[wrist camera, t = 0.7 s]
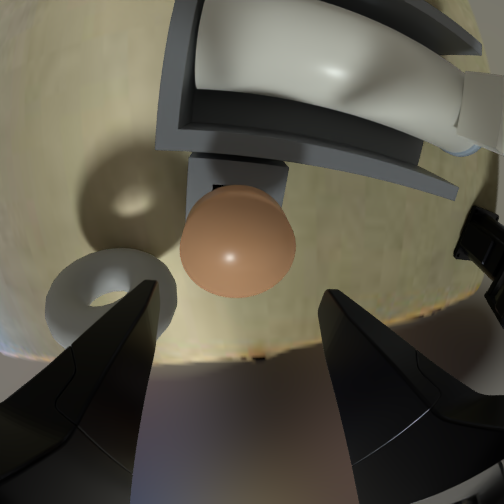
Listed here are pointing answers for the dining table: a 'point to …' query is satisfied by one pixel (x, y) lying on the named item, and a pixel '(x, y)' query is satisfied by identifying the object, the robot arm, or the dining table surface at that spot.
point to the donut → (103, 290)
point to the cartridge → (348, 70)
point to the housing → (291, 115)
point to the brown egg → (237, 242)
